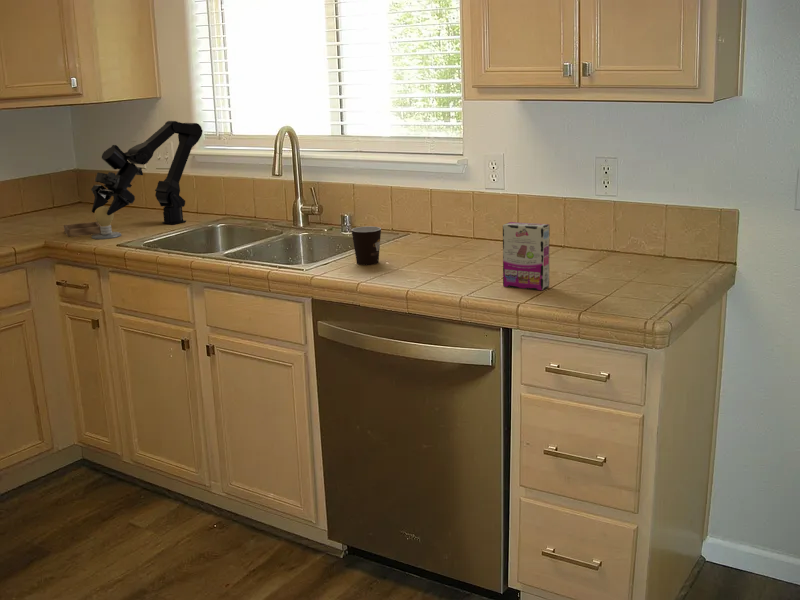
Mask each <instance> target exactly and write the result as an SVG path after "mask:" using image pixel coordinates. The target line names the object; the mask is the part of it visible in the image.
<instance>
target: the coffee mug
mask: <svg viewBox="0 0 800 600" xmlns="http://www.w3.org/2000/svg"><path fill="white" fill-rule="evenodd" d="M381 235H382V228H381V227H378V226H372V225H371V226H369V225H368V226H366V225H365V226H358V227H354V228H351V236H352V241H353V247H354V248H353V249H354V253H355V254H354V255H355V260H356V264H357V265H359V266H374V265H377V264H378V263H379V262H380V261H379V260H380V248H381V247H380V246H381Z"/></svg>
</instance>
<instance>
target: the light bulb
mask: <svg viewBox="0 0 800 600" xmlns="http://www.w3.org/2000/svg"><path fill="white" fill-rule="evenodd" d="M109 207H110V206H105V205H104V206H101V207H99V208H97V209H96V210H95V213H93V215H94V218H95V219H94V220H95V222H98V223H99V224H100V228H101V229H100V230H101V234H102V235H109V234H111V233H112V232H113V231H112V225H111V224H112V222H113V219H114V217H115V216H114V213H113V214H111V215H107V211H108V209H109Z"/></svg>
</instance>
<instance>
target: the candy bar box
mask: <svg viewBox="0 0 800 600" xmlns="http://www.w3.org/2000/svg"><path fill="white" fill-rule="evenodd" d="M550 230H551V229H550V224H549V223H547V224H546V223H531V222H530V223H529V222H518V221H516V222H515V221H514V222H513V221H510V222H507V223H505V224H502V286H503V287H505V288H512V287H513V288H514V289H515V288H516V289H524V290H533V291H544V290H546V289H548V288H549V287H550ZM513 288H512V289H513Z"/></svg>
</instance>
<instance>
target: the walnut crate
mask: <svg viewBox="0 0 800 600" xmlns="http://www.w3.org/2000/svg"><path fill="white" fill-rule="evenodd" d="M100 226H101V225H100V224H99V223H98V222H97V221H89V222H81V223H71V224H64V225H63V228H64V229H63V230H64V233H65V234H67V235H66V236H67V237H68V236H74V237H80V236H79V235H84V236H90V235H91V234H93V235H94V234H97V233H101V230H100V229H101V228H100ZM91 236H92V235H91Z"/></svg>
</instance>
